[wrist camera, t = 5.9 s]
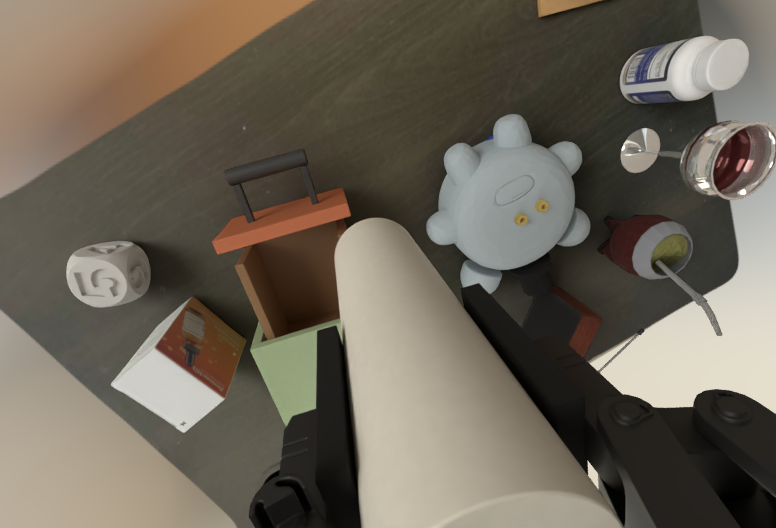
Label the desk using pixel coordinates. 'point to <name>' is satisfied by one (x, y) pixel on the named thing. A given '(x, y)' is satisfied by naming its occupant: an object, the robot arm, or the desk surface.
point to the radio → (564, 321)
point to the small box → (183, 365)
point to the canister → (442, 405)
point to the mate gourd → (653, 251)
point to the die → (109, 273)
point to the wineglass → (712, 157)
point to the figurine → (509, 206)
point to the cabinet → (290, 367)
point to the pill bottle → (683, 70)
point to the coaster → (560, 5)
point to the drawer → (287, 249)
